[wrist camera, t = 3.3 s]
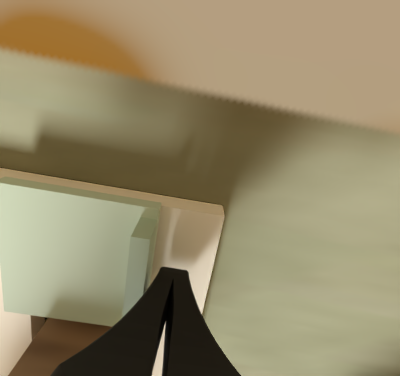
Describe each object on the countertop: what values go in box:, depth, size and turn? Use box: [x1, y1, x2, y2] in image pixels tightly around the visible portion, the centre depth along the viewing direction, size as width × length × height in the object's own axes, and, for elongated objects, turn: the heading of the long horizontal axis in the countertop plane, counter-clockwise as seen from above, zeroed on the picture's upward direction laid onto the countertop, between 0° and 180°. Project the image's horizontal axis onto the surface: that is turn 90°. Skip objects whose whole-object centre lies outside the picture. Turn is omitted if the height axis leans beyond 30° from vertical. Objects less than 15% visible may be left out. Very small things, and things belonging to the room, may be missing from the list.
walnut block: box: [8, 318, 112, 376], centre depth 15 cm, size 4×4×6 cm
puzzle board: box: [0, 168, 225, 376], centre depth 16 cm, size 14×20×1 cm
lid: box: [0, 176, 161, 326], centre depth 12 cm, size 8×8×3 cm
